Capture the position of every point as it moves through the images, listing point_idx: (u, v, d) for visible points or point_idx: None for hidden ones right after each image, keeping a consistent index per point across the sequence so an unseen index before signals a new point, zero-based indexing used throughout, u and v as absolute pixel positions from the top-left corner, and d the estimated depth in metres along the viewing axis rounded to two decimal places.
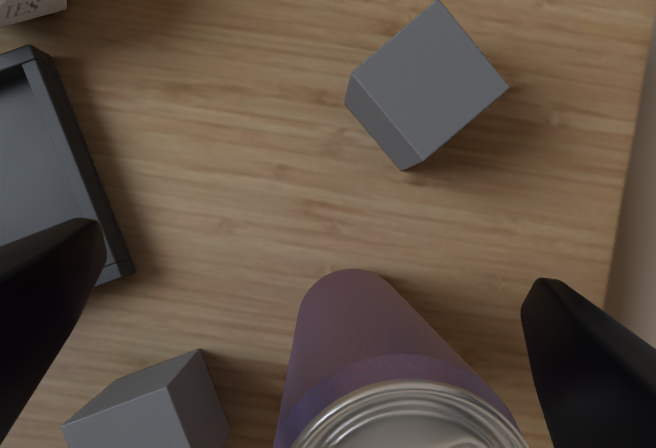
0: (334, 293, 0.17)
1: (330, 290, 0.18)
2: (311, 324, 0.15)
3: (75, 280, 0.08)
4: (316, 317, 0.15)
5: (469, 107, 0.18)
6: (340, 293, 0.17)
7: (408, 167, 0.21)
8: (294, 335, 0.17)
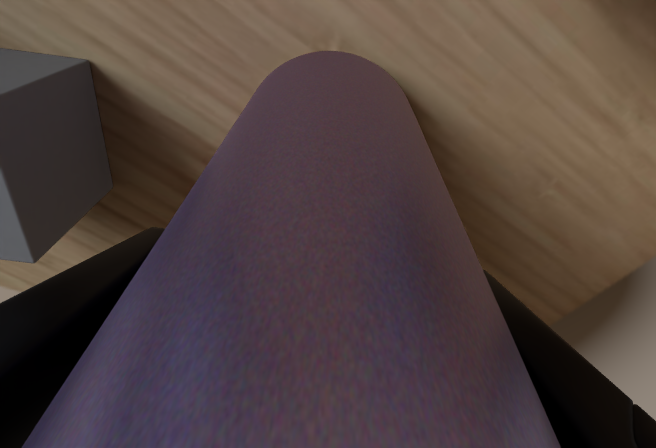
0: (331, 102, 0.08)
1: (326, 89, 0.09)
2: (258, 154, 0.06)
3: None
4: (275, 143, 0.07)
5: None
6: (343, 110, 0.08)
7: None
8: (227, 135, 0.09)
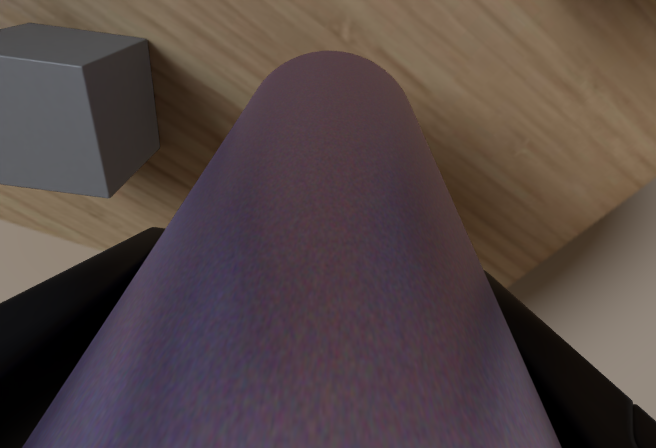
0: (331, 101, 0.08)
1: (326, 89, 0.09)
2: (258, 154, 0.06)
3: None
4: (275, 143, 0.07)
5: None
6: (343, 110, 0.08)
7: None
8: (228, 135, 0.09)
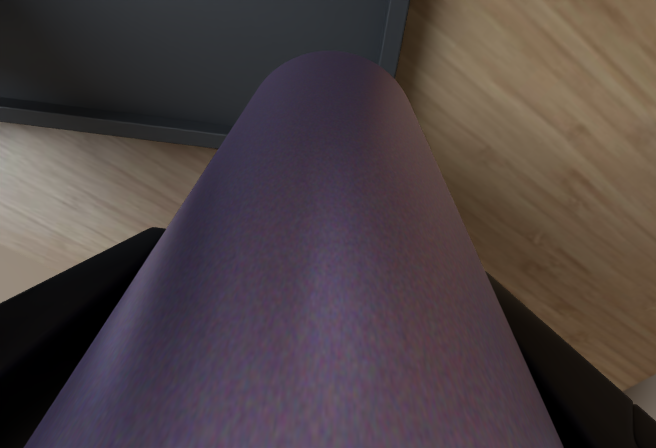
0: (332, 101, 0.08)
1: (326, 88, 0.09)
2: (259, 154, 0.06)
3: None
4: (276, 143, 0.07)
5: None
6: (344, 110, 0.08)
7: None
8: (228, 135, 0.09)
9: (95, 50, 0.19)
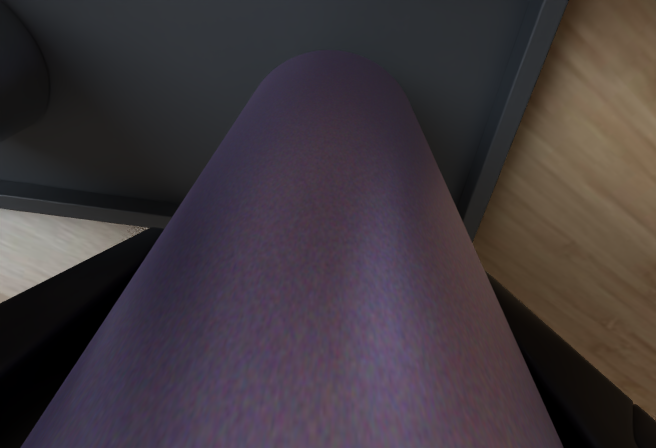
0: (331, 100, 0.08)
1: (326, 88, 0.09)
2: (258, 153, 0.06)
3: None
4: (275, 142, 0.07)
5: None
6: (343, 109, 0.08)
7: None
8: (227, 134, 0.09)
9: (177, 150, 0.18)
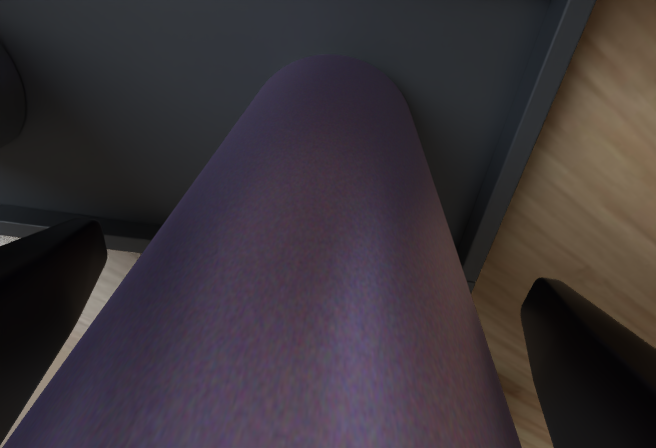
0: (325, 105, 0.09)
1: (321, 93, 0.09)
2: (250, 156, 0.07)
3: (75, 280, 0.08)
4: (267, 145, 0.07)
5: None
6: (336, 114, 0.08)
7: None
8: None
9: (164, 170, 0.17)
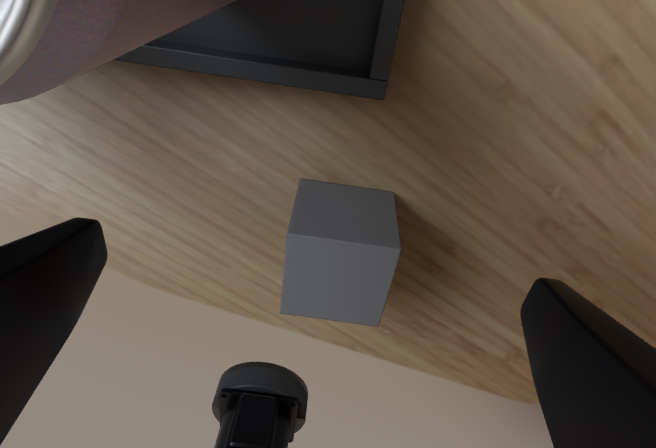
0: None
1: None
2: None
3: (75, 280, 0.08)
4: None
5: None
6: None
7: None
8: None
9: None
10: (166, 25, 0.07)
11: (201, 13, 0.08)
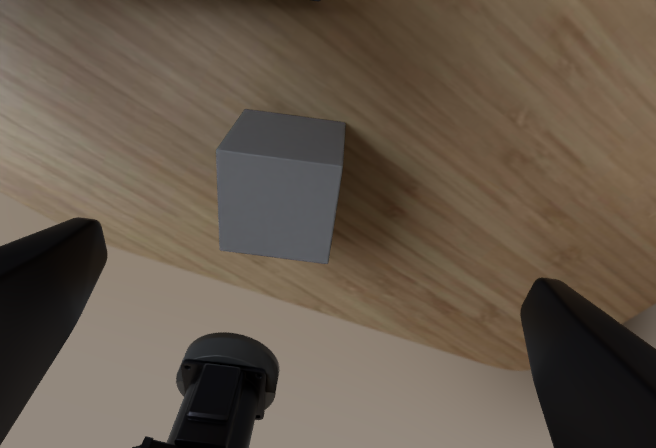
0: None
1: None
2: None
3: (75, 280, 0.08)
4: None
5: None
6: None
7: None
8: None
9: None
10: None
11: None
